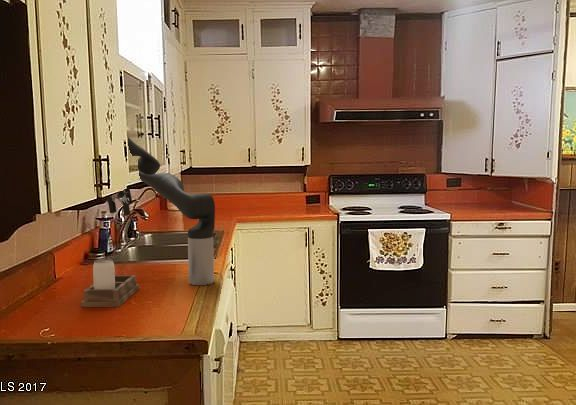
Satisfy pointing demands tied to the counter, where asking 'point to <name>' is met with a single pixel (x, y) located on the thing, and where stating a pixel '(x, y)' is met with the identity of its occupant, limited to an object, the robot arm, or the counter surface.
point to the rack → (111, 293)
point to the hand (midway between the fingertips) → (120, 214)
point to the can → (104, 274)
